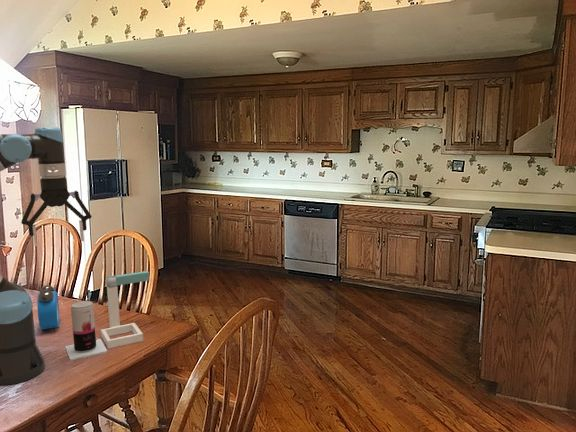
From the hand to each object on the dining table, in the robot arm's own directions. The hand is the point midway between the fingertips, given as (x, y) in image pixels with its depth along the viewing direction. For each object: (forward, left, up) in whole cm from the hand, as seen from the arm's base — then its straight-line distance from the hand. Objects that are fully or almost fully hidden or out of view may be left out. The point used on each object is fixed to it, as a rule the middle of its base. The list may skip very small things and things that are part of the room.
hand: (59, 243), depth 156 cm
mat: (+4, -8, -35) cm, 36 cm away
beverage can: (+4, -8, -34) cm, 35 cm away
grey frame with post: (+16, -2, -35) cm, 38 cm away
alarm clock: (-4, +19, -35) cm, 40 cm away
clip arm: (+22, +5, -19) cm, 29 cm away
